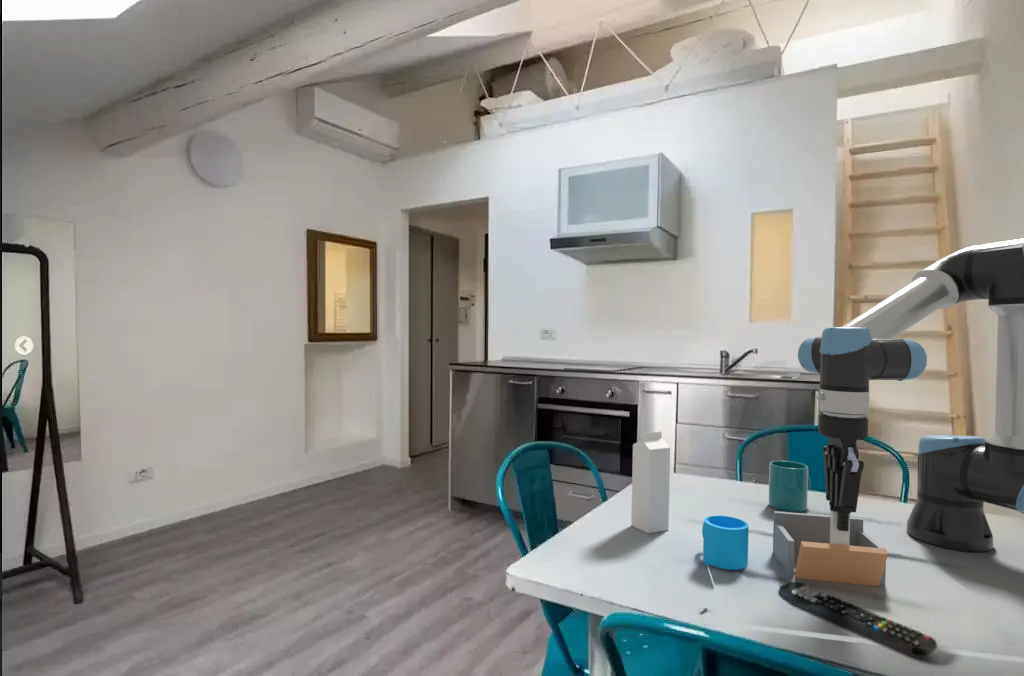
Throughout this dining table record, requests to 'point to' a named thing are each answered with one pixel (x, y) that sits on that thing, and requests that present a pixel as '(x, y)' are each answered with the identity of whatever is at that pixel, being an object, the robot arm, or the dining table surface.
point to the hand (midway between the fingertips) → (839, 546)
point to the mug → (725, 542)
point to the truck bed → (811, 536)
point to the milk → (650, 483)
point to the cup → (788, 486)
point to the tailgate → (841, 563)
